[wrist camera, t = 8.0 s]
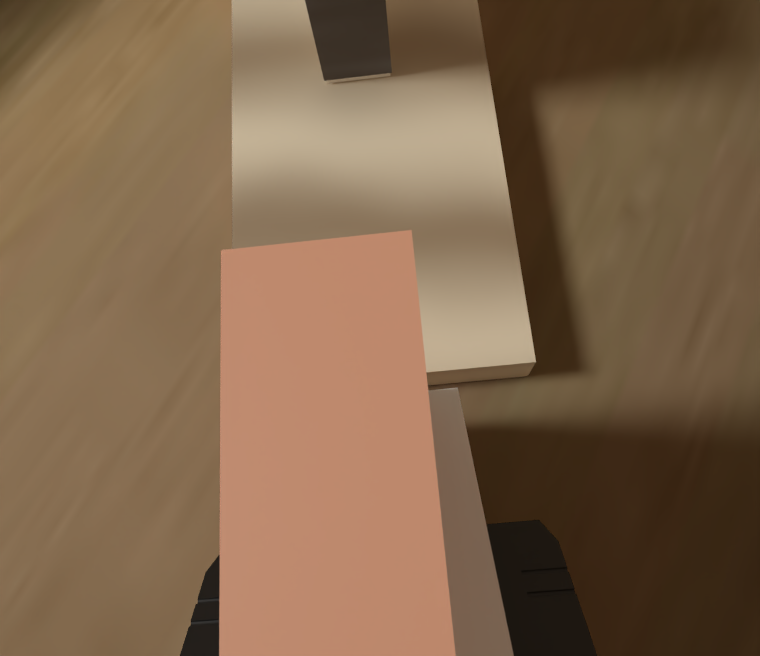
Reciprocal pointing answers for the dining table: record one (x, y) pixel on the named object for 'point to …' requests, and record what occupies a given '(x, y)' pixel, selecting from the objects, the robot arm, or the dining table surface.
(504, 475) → the dining table surface
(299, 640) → the stub
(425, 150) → the ticket stand
